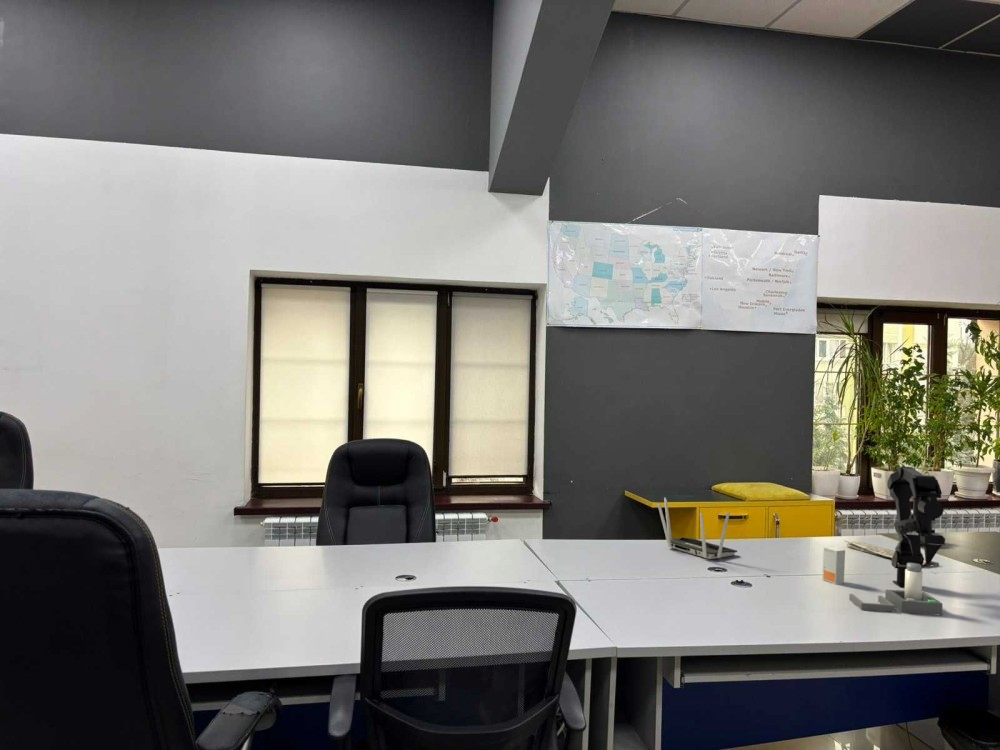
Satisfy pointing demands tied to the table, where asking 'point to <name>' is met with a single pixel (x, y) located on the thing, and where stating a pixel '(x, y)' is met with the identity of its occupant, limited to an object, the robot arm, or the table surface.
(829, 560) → the skincare box
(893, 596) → the dock
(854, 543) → the newspaper
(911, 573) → the plug
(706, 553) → the wireless router
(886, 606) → the grey u-shaped rail
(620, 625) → the table surface
